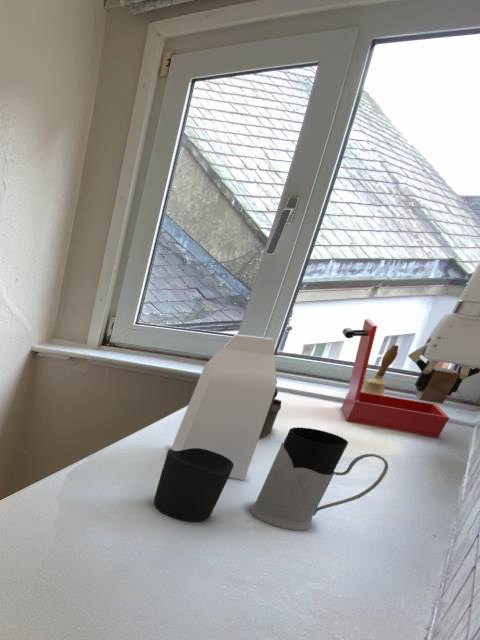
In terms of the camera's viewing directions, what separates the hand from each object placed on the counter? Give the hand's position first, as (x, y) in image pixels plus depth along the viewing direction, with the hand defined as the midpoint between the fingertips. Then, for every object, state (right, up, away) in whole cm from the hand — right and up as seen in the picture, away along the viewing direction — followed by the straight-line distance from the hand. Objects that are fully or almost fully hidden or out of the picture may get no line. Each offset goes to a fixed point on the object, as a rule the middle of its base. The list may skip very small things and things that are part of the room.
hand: (432, 391), depth 127 cm
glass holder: (-60, -28, -34) cm, 74 cm away
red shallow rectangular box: (+6, -5, +17) cm, 19 cm away
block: (0, -2, +1) cm, 2 cm away
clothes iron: (-39, -9, +6) cm, 40 cm away
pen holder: (-79, -26, -32) cm, 89 cm away
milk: (-62, -17, -13) cm, 65 cm away
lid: (-2, +11, +15) cm, 19 cm away
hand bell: (+20, +3, +36) cm, 41 cm away
